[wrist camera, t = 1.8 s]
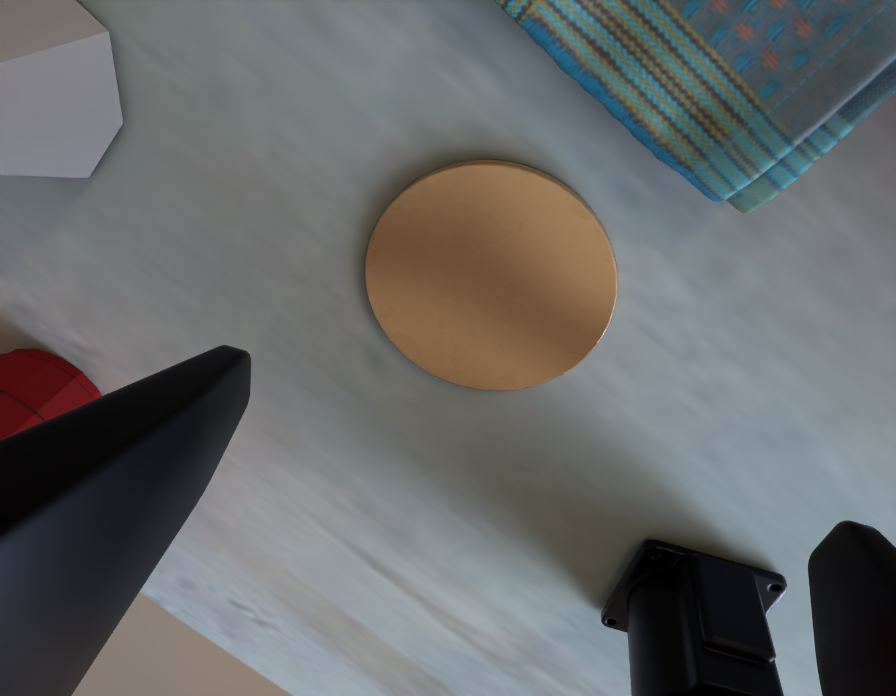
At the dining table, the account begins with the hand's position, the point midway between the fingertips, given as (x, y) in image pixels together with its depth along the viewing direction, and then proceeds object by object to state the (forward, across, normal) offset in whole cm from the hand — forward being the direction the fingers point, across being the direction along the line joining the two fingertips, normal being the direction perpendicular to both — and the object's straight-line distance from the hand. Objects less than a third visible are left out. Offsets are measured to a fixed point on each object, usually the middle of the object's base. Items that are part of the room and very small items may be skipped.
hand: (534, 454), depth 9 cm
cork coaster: (+13, +1, +5) cm, 14 cm away
